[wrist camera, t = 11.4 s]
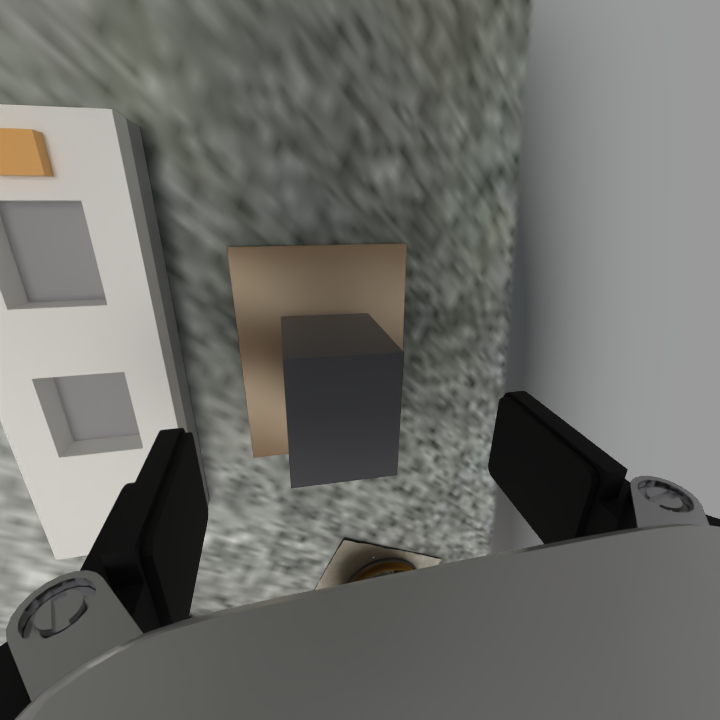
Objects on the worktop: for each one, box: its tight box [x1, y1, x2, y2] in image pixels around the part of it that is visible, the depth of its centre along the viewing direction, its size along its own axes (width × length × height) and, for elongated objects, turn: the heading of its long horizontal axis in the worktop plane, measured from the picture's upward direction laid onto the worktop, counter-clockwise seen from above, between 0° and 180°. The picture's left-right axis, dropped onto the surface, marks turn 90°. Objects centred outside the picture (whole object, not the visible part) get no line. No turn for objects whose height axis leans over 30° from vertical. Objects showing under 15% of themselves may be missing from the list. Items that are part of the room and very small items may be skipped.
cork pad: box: [227, 243, 407, 458], centre depth 21 cm, size 12×9×1 cm
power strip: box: [0, 104, 209, 560], centre depth 18 cm, size 20×7×4 cm, turn 1°
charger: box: [281, 313, 404, 488], centre depth 18 cm, size 6×4×7 cm
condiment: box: [315, 540, 441, 590], centre depth 24 cm, size 7×8×12 cm
